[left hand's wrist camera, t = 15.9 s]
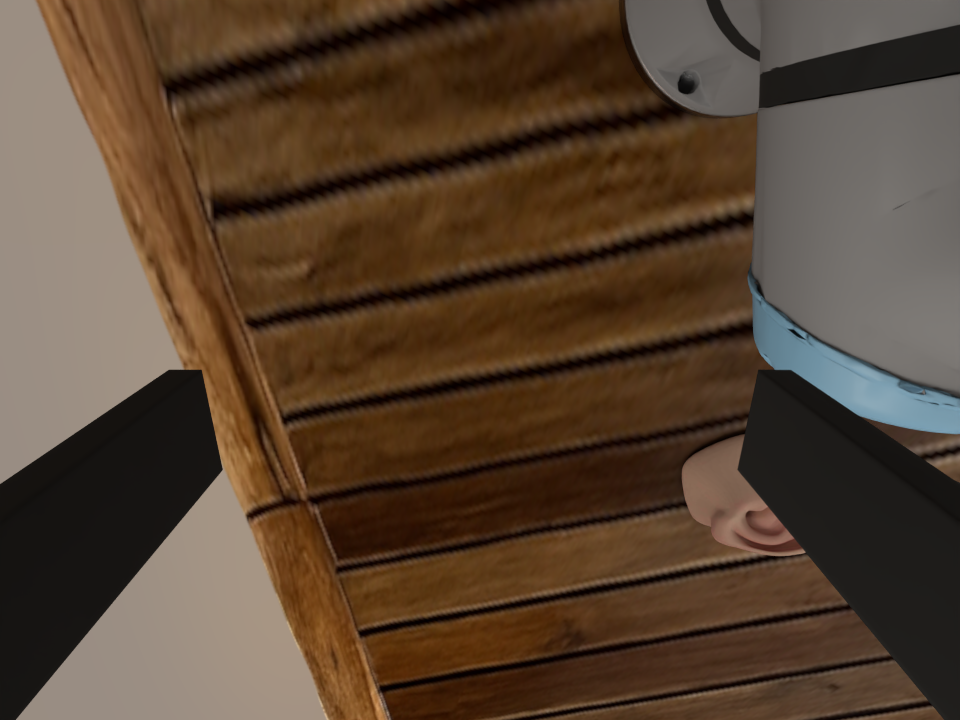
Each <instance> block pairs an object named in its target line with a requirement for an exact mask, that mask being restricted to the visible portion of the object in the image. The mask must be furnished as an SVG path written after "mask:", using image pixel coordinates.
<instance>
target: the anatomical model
mask: <svg viewBox="0 0 960 720" xmlns="http://www.w3.org/2000/svg"><path fill="white" fill-rule="evenodd" d="M744 436H745V434H743V435H738V436H735V437H731V438H728V439H726V440H723V441H720V442H718V443H715V444H713V445H711V446H709V447H706V448H704V449H702V450H701V451H699V452H697V453H695V454H694V455H692V456H691V457H690V458H689V459H688V460H687V461H686V462H685V464H684V466H683V469H682V484H683V490H684V496H685V500H686V503H687V506H688V508H689V511H690V513H691V515H692V516H693V518H694V519H695V520H696V521H698V522H700V523H702V524H704V525H707V526H710V527H711V532H712V535H713V537H714V538H715V539H716V540H717V541H718V542H720V543H722V544H725V545H729V546H732V547H736V548H740V549H743V550H747V551H751V552H755V553H759V554H764V555H772V556H788V555H795V554H801V553H806V552H805V551H804V550H803V549H802V547H801V546H800V545H799V544H798V542H797V541H796V540H795V539H794V538H793V536H792V535H791V534H790V533H789V532H788V530H787V529H786V528H785V527H784V526H783V524H782V523H781V522H780V521H779V520H778V518H777V517H776V516H775V515H774V514H773V512H772V511H771V510H770V509H769V507H768V506H767V505H766V504H765V503H764V501H763V500H762V499H761V498H760V497H759V495H758V494H757V493H756V492H755V491H754V489H753V488H752V487H751V486H750V485H749V483H748V482H747V481H746V480H745V478H744V477H743V476H742V475H741V474H740V472H739V471H738V470H737V469H738V464H739V459H740V455H741V450H742V445H743V441H744Z"/></svg>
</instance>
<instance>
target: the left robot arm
mask: <svg viewBox="0 0 960 720" xmlns="http://www.w3.org/2000/svg"><path fill="white" fill-rule="evenodd" d="M619 11H620V21H621V27H622V33H623V37H624V41H625V44H626V48H627V50H628V53H629V55H630V58H631V60H632V62H633V64H634V66H635V68H636V70H637V71H638V73H639V75H640V76H641V78H642V79H643V80H644V82H645V83H646V84H647V85H648V87H649V88H650V89H651V90H652V91H653V92H654V93H655V94H656V95H657V96H659V97H660V98H661V99H662V100H664V101H665V102H666V103H668V104H670V105H671V106H673V107H675V108H677V109H679V110H681V111H683V112H686V113H689V114H692V115H695V116H700V117H706V118H731V117H738V116H745V115H750V114H754V113H758V116H757V150H756V184H755V207H754V228H753V248H752V262H751V265H750V269H749V271H748V284H749V287H750V290H751V293H752V295H753V333H754V339H755V343H756V345H757V348H758V350H759V352H760V354H761V356H762V357H763V358H764V359H765V360H766V361H767V362H768V363H769V364H770V365H771V366H772V367H774V369H775V370H758V374H757V379H756V384H755V389H754V393H753V398H752V403H751V407H750V412H749V417H748V422H747V426H746V431H745V436H744V441H743V445H742V450H741V455H740V459H739V464H738V469H737V470H738V471H739V472H740V474H741V475H742V476H743V477H744V478H745V480H746V481H747V482H748V483H749V485H750V486H751V487H752V488H753V489H754V491H755V492H756V493H757V494H758V495H759V497H760V498H761V499H762V500H763V501H764V503H765V504H766V505H767V506H768V507H769V509H770V510H771V511H772V512H773V514H774V515H775V516H776V517H777V518H778V520H779V521H780V522H781V523H782V524H783V526H784V527H785V528H786V529H787V530H788V532H789V533H790V534H791V535H792V536H793V538H794V539H795V540H796V541H797V542H798V544H799V545H800V546H801V547H802V549H803V550H804V551H805V552H806V553H807V555H808V556H809V557H810V558H811V559H812V561H813V562H814V563H815V564H816V565H817V567H818V568H819V569H820V570H821V571H822V573H823V574H824V575H825V576H826V577H827V579H828V580H829V581H830V582H831V584H832V585H833V586H834V587H835V588H836V590H837V591H838V592H839V593H840V594H841V596H842V597H843V598H844V599H845V600H846V602H847V603H848V604H849V605H850V606H851V608H852V609H853V610H854V611H855V612H856V614H857V615H858V616H859V617H860V619H861V620H862V621H863V622H864V623H865V625H866V626H867V627H868V628H869V629H870V631H871V632H872V633H873V634H874V635H875V637H876V638H877V639H878V640H879V641H880V643H881V644H882V645H883V646H884V648H885V649H886V650H887V651H888V652H889V654H890V655H891V656H892V657H893V658H894V660H895V661H896V662H897V663H898V664H899V666H900V667H901V668H902V669H903V670H904V672H905V673H906V674H907V675H908V676H909V678H910V679H911V680H912V681H913V683H914V684H915V685H916V686H917V687H918V689H919V690H920V691H921V692H922V693H923V695H924V696H925V697H926V698H927V699H928V701H929V702H930V703H931V704H932V705H933V707H934V708H935V709H936V710H937V711H938V713H939V714H940V715H941V716H942V718H943V719H944V720H960V483H959V482H957V481H955V480H953V479H951V478H950V477H948V476H947V475H946V474H944V473H943V472H941V471H940V470H938V469H937V468H935V467H934V466H932V465H931V464H929V463H928V462H926V461H925V460H923V459H922V458H920V457H919V456H917V455H916V454H915V453H913V452H912V451H910V450H909V449H907V448H906V447H904V446H903V445H901V444H900V443H898V442H897V441H895V440H894V439H892V438H891V437H889V436H888V435H886V434H885V433H884V432H882V431H881V430H879V429H878V428H876V427H875V426H873V425H872V424H870V423H869V422H867V421H866V420H864V419H863V418H861V417H860V416H862V417H865V418H868V419H871V420H875V421H879V422H883V423H887V424H891V425H895V426H900V427H905V428H910V429H916V430H922V431H929V432H937V433H949V434H960V0H619ZM957 74H958V75H957ZM940 77H941V78H940ZM934 78H935V79H934ZM928 79H929V80H928ZM922 80H923V81H922ZM916 81H918V82H916ZM911 82H912V83H911ZM905 83H906V84H905ZM888 86H889V87H888ZM882 87H883V88H882ZM876 88H877V89H876ZM870 89H872V90H870ZM864 90H866V91H864ZM859 91H860V92H859ZM853 92H854V93H853ZM848 93H849V94H848ZM842 94H843V95H842ZM836 95H837V96H836ZM830 96H832V97H830ZM824 97H826V98H824ZM819 98H820V99H819ZM813 99H814V100H813ZM806 100H809V101H806ZM800 101H803V102H800ZM795 102H797V103H795ZM789 103H792V104H789ZM782 104H786V105H782ZM778 105H781V106H778ZM858 415H859V416H858ZM222 470H223V469H222V464H221V459H220V455H219V450H218V445H217V441H216V436H215V431H214V426H213V422H212V417H211V412H210V407H209V403H208V398H207V393H206V389H205V384H204V379H203V374H202V370H168V371H167V372H165V373H164V374H162V375H161V376H159V377H158V378H156V379H155V380H153V381H152V382H150V383H149V384H147V385H146V386H144V387H143V388H142V389H140V390H139V391H137V392H136V393H134V394H133V395H131V396H130V397H128V398H127V399H125V400H124V401H122V402H121V403H119V404H118V405H116V406H115V407H113V408H112V409H110V410H109V411H108V412H106V413H105V414H103V415H102V416H100V417H99V418H97V419H96V420H94V421H93V422H91V423H90V424H88V425H87V426H85V427H84V428H82V429H81V430H79V431H78V432H76V433H75V434H74V435H72V436H71V437H69V438H68V439H66V440H65V441H63V442H62V443H60V444H59V445H57V446H56V447H54V448H53V449H51V450H50V451H48V452H47V453H45V454H44V455H43V456H41V457H40V458H38V459H37V460H35V461H34V462H32V463H31V464H29V465H28V466H26V467H25V468H23V469H22V470H20V471H19V472H17V473H16V474H14V475H13V476H12V477H10V478H9V479H7V480H6V481H4V482H3V483H1V484H0V720H16V719H17V718H18V716H19V715H20V714H21V713H22V711H23V710H24V709H25V708H26V707H27V705H28V704H29V703H30V702H31V701H32V699H33V698H34V697H35V696H36V695H37V693H38V692H39V691H40V690H41V689H42V687H43V686H44V685H45V684H46V682H47V681H48V680H49V679H50V678H51V676H52V675H53V674H54V673H55V672H56V670H57V669H58V668H59V667H60V666H61V664H62V663H63V662H64V661H65V660H66V658H67V657H68V656H69V655H70V654H71V652H72V651H73V650H74V649H75V647H76V646H77V645H78V644H79V643H80V641H81V640H82V639H83V638H84V637H85V635H86V634H87V633H88V632H89V631H90V629H91V628H92V627H93V626H94V625H95V623H96V622H97V621H98V620H99V618H100V617H101V616H102V615H103V614H104V612H105V611H106V610H107V609H108V608H109V606H110V605H111V604H112V603H113V602H114V600H115V599H116V598H117V597H118V596H119V594H120V593H121V592H122V591H123V589H124V588H125V587H126V586H127V585H128V583H129V582H130V581H131V580H132V579H133V577H134V576H135V575H136V574H137V573H138V571H139V570H140V569H141V568H142V567H143V565H144V564H145V563H146V562H147V561H148V559H149V558H150V557H151V556H152V555H153V553H154V552H155V551H156V550H157V549H158V547H159V546H160V545H161V544H162V542H163V541H164V540H165V539H166V538H167V536H168V535H169V534H170V533H171V532H172V530H173V529H174V528H175V527H176V526H177V524H178V523H179V522H180V521H181V520H182V518H183V517H184V516H185V515H186V514H187V512H188V511H189V510H190V509H191V507H192V506H193V505H194V504H195V503H196V501H197V500H198V499H199V498H200V497H201V495H202V494H203V493H204V492H205V491H206V489H207V488H208V487H209V486H210V484H211V483H212V482H213V481H214V480H215V478H216V477H217V476H218V475H219V474H220V472H221V471H222Z"/></svg>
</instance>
